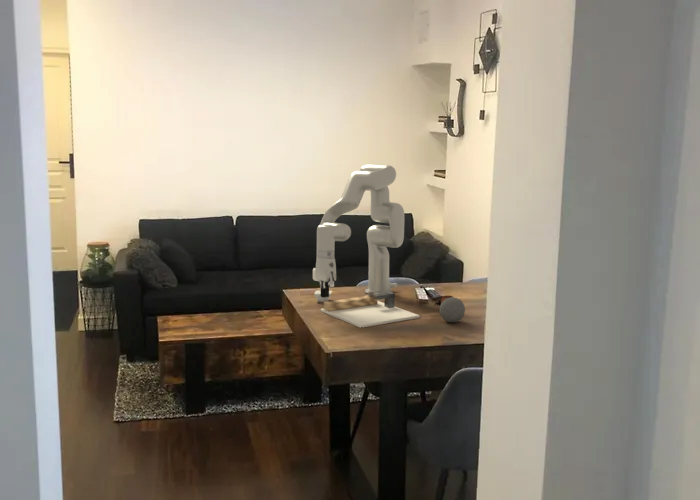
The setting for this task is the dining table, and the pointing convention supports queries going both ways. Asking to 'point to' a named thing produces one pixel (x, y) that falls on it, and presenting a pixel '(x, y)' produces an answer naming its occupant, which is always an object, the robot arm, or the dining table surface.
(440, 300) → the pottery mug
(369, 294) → the oak link
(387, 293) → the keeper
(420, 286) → the dining table surface
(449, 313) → the decorative ball
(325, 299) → the figurine
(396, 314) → the pivot board
